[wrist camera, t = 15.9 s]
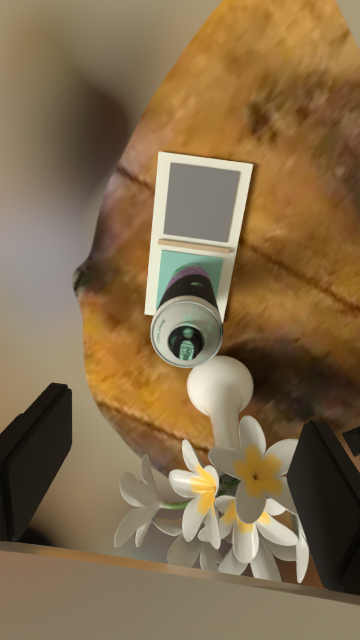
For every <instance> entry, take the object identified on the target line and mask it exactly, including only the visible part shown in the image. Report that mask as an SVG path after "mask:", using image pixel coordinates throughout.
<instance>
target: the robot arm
mask: <svg viewBox="0 0 360 640" xmlns="http://www.w3.org/2000/svg"><path fill="white" fill-rule="evenodd" d="M71 444H72V391H71V389H68V386H67V385H66V384H59V383H51V384H50V385H49V386H48V387H47V388H46V389H45V390H44V391H43V392H42V393H41V395H40V396H39V397H38V398H37V399H36V400H35V401H34V402H33V403H32V404H31V406H30V407H29V408H28V409H27V410H26V411H25V412H24V413H22V414H19V415H18V416H17V417H16V418H15V419H14V420H13V421H12V422H11V423H10V424H9V425H8V426H7V427H6V429H5V430H4V431H3V432H2V433H1V434H0V640H360V473H359V471H358V470H357V468H356V467H355V465H354V464H353V462H352V461H351V459H350V457H349V456H348V454H347V453H346V451H345V450H344V448H343V447H342V445H341V443H340V442H339V440H338V439H337V437H336V436H335V434H334V433H333V431H332V430H331V428H330V426H329V425H328V424H327V423H326V422H320V421H313V420H310V421H309V422H308V423H305V424H304V426H303V429H302V432H301V434H300V437H299V440H298V443H297V446H296V449H295V452H294V455H293V458H292V461H291V463H290V466H289V469H288V472H287V484H288V487H289V490H290V493H291V496H292V499H293V502H294V505H295V507H296V510H297V513H298V516H299V519H300V522H301V525H302V528H303V531H304V534H305V537H306V540H307V543H308V545H309V548H310V551H311V554H312V557H313V560H314V563H315V566H316V569H317V572H318V575H319V577H320V580H321V583H322V585H323V586H324V588H327V589H328V590H325V589H320V588H314V587H309V586H303V585H296V584H290V583H284V582H278V581H272V580H265V579H259V578H252V577H247V576H240V575H234V574H228V573H222V572H215V571H209V570H202V569H196V568H189V567H183V566H176V565H170V564H163V563H157V562H150V561H144V560H137V559H130V558H123V557H117V556H110V555H103V554H97V553H90V552H83V551H76V550H69V549H63V548H55V547H47V546H40V545H32V544H24V543H16V542H13V541H14V540H15V541H18V540H19V539H20V538H21V536H22V535H23V533H24V531H25V530H26V528H27V526H28V524H29V522H30V521H31V519H32V517H33V515H34V513H35V512H36V510H37V508H38V506H39V504H40V503H41V501H42V499H43V497H44V496H45V494H46V492H47V490H48V489H49V487H50V485H51V483H52V481H53V479H54V478H55V476H56V474H57V472H58V471H59V469H60V467H61V465H62V464H63V462H64V460H65V458H66V456H67V455H68V453H69V451H70V448H71Z"/></svg>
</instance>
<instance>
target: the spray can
mask: <svg viewBox="0 0 360 640" xmlns="http://www.w3.org/2000/svg"><path fill="white" fill-rule="evenodd" d="M222 339H223V324H222V320H221V316H220V313H219V309H218V305H217V302H216V298H215V295H214V291H213V287H212V284H211V280H210V277H209V275H208V273H207V272H206V271H205V270H204V269H203V268H202V267H200V266H198V265H195V264H185V265H182V266H180V267H179V268H177V269H176V270H175V271H174V272H173V274H172V276H171V278H170V280H169V282H168V285H167V287H166V289H165V292H164V294H163V296H162V299H161V301H160V303H159V306H158V308H157V310H156V313H155V315H154V317H153V320H152V324H151V341H152V344H153V347H154V349H155V351H156V352H157V354H158V355H159V356H160V357H161V358H162V359H163V360H165V361H166V362H168V363H170V364H172V365H174V366H178V367H183V368H192V367H197V366H201V365H203V364H205V363H207V362H208V361H210V360H211V359H212V358H213V357H214V356H215V355H216V354H217V352H218V351H219V349H220V347H221V344H222Z"/></svg>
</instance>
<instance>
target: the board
mask: <svg viewBox="0 0 360 640" xmlns="http://www.w3.org/2000/svg"><path fill="white" fill-rule="evenodd" d="M252 168H253V164H249V163H241V162H234V161H226V160H219V159H211V158H204V157H196V156H189V155H181V154H174V153H166V152H159V156H158V167H157V178H156V190H155V201H154V212H153V224H152V235H151V247H150V258H149V269H148V281H147V292H146V303H145V314H148V315H155V313H156V310H157V308H158V306H159V303H160V301H161V299H162V296H163V294H164V292H165V289H166V287H167V285H168V282H169V280H170V278H171V276H172V274H173V272H174V271H175V270H176V269H177V268H179V267H180V266H182V265H185V264H195V265H198V266H200V267H202V268H203V269H204V270H205V271H206V272H207V273H208V275H209V277H210V280H211V284H212V287H213V291H214V295H215V298H216V302H217V305H218V309H219V313H220V316H221V320H222V324H223V319H224V314H225V309H226V304H227V298H228V293H229V288H230V283H231V277H232V272H233V267H234V262H235V257H236V251H237V246H238V241H239V236H240V230H241V225H242V220H243V215H244V210H245V204H246V199H247V194H248V189H249V183H250V178H251V173H252Z"/></svg>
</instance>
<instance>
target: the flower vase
mask: <svg viewBox="0 0 360 640" xmlns="http://www.w3.org/2000/svg"><path fill="white" fill-rule="evenodd" d="M253 386H254V384H253V379H252V375H251V374H250V372H249V370H248V368H247V367H246V366H245V365H244V364H243V363H241V362H240V361H238V360H236V359H235V358H232V357H228V356H214V357H213V358H212V359H211V360H210V361H208V362H207V363H205V364H203V365H201V366H197V367H194V368H193V369H192V371H191V372H190V374H189V377H188V380H187V391H188V395H189V398H190V400H191V402H192V403H193V405H194V406H195V407H196V408H197V409H198V410H199V411H200V412H202V413H203V414H205V415H207V416H210V419H211V424H212V430H213V438H214V447H213V448H212V449H210V451H209V455H208V457H209V460H210V461H211V463H212V464H213V465H214V466H211V465H208V466H206V467H205V466H204V465H203V463H202V462H201V461H200V459H199V457H198V456H197V454H196V452H195V451H194V449H193V447H192V446H191V444H190V443H189V442H188V440H186V439H185V440H183V443H182V452H183V457H184V460H185V463H186V465H187V467H188V468H189V469H190V470H191V471H193V472H188V471H184V470H178V469H177V470H173V471H171V472H170V474H169V481H170V484H171V486H172V488H173V489H174V491H176V492H177V493H178V494H179V495H181V496H183V497H188V498H189V497H195V498H194V499H192V500H189V501H186V502H183V503H168V502H164V501H161V499H160V496H159V492H158V490H157V487H156V484H155V482H154V479H153V475H152V471H151V466H150V462H149V457H148V455H147V454H146V453H145V454H144V456H143V458H142V463H141V476H142V479H143V480H144V482H145V483H144V482H142V481H141V480H139V479H138V478H137V477H135V476H134V475H133V474H130V473H124V474H123V475H122V476H121V479H120V491H121V494H122V496H123V497H124V499H125V500H126V501H127V502H128V503H130V504H131V505H134V506H138V507H139V508H135V509H132V510H131V511H130V512H128V513H127V515H126V516H125V517H124V518H123V520H122V521H121V523H120V525H119V527H118V529H117V532H116V535H115V539H114V545H115V547H120V546H121V545H122V544H123V543H124V542H125V541H126V540H127V539H128V538H129V537H130V536H131V535H132V534H133V533H134V532H135V531H136V530H137V529H138V530H137V533H136V545H137V547H139V546H140V545H141V543H142V541H143V538H144V536H145V534H146V531H147V529H148V527H149V525H150V523H151V521H153V523H154V524H155V525H156V527H158V528H159V529H160V530H161V531H163V532H165V533H166V534H169V535H173V536H176V535H178V534H181V533H182V534H181V535H180V536H179V538H178V539H177V540H176V541H175V542H174V543H173V544H172V545H171V547H170V549H169V551H168V555H167V559H168V563H169V564H170V565H176V566H183V567H189V568H190V567H191V566H192V565H193V564H194V562H195V561H196V559H197V557H198V555H199V553H200V551H201V553H200V564H201V568H202V570H209V571H215V572H222V573H228V574H234V575H240V574H241V573H242V572H243V571H244V570H245V568H246V567H247V564H248V563H251V568H252V572H253V575H254V578H259V579H265V580H272V581H278V582H281V577H280V574H279V571H278V568H277V565H276V563H275V560H274V558H273V555H272V553H273V554H274V555H275V556H276V557H277V558H279V559H282V560H286V561H295V560H297V580H298V582H299V583H301V581H302V580H303V578H304V575H305V573H306V569H307V565H308V560H309V548H308V544H307V542H306V540H305V538H306V537H305V534H304V531H303V528H302V525H301V522H300V519H299V516H298V513H297V510H296V507H295V505H294V502H293V499H292V496H291V493H290V490H289V487H288V484H287V477H279V476H282V475H284V474H285V473H287V472H288V469H289V466H290V463H291V461H292V458H293V455H294V452H295V449H296V446H297V443H298V440H297V439H286V440H282V441H279V442H277V443H275V444H274V445H273V446H271V447H270V448H269V449H268V450H267V451H266V453H265V449H266V441H265V437H264V433H263V431H262V428H261V427H260V425H259V423H258V422H257V421H256V420H255V419H254V418H253V417H251V416H244V417H243V418H242V419H241V422H240V425H239V415H238V414H239V413H240V412H241V411H242V410H244V409H245V407H246V406H247V405H248V404H249V402H250V400H251V398H252V395H253ZM194 472H195V473H194ZM196 496H197V497H196ZM160 508H167V509H184V508H186V509H185V512H184V515H183V519H182V518H179V519H178V520H171V519H164V518H157V517H155V518H154V516H155V514H156V513H157V511H158V510H159V509H160ZM218 510H219V511H220V512H221V513H222V514H221V515H220V516H218ZM285 510H288V511H290V513H291V517H292V524H293V529H294V532H293V531H292V530H290V529H289V528H288V527H286V526H285V525H283V524H282V523H280V522H279V521H277V520H276V519H274V518H273V517H272V516H271V515H279V514H281V513H283V512H284V511H285ZM270 514H271V515H270ZM304 537H305V538H304ZM222 538H224V539H225V540H226V541H227V542H229V543H233V547H232V548H231V549H230V551H229V552H228V553H227V554H226V556H225V557H224V558H223V559H222V557H221V555H220V553H219V552H218V550H217V549H218V548H219V546H220V542H221V539H222ZM270 550H271V551H270ZM271 552H272V553H271ZM216 562H218V563H219V564H220V565H219V567H218V566H217V563H216Z"/></svg>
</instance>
